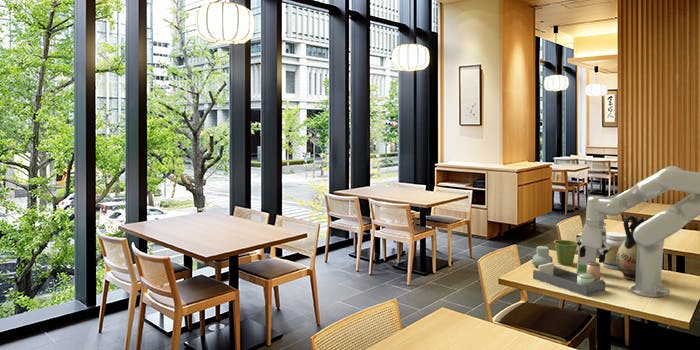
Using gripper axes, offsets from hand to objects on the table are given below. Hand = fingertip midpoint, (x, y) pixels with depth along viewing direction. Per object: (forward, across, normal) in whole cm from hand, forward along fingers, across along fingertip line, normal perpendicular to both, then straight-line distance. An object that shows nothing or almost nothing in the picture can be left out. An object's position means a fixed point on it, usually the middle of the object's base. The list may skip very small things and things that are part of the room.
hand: (591, 259), depth 230 cm
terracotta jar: (+11, -1, 0) cm, 11 cm away
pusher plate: (+11, +17, +12) cm, 23 cm away
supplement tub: (+11, +8, -31) cm, 34 cm away
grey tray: (+11, +3, +12) cm, 16 cm away
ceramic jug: (+10, -7, -21) cm, 25 cm away
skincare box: (+11, +10, -11) cm, 19 cm away
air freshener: (+12, +28, -1) cm, 30 cm away
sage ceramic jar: (+10, -6, +12) cm, 17 cm away
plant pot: (+11, +25, -15) cm, 31 cm away
